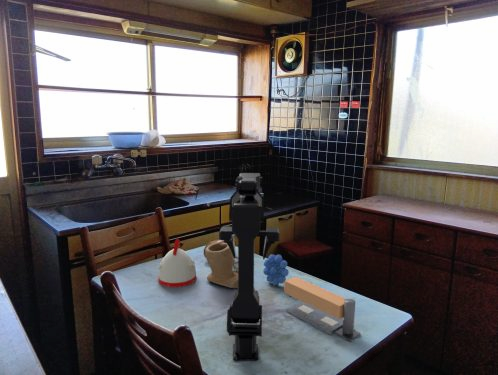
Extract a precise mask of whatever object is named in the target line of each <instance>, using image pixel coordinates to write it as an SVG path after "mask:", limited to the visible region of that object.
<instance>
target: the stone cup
mask: <svg viewBox="0 0 498 375" xmlns="http://www.w3.org/2000/svg"><path fill="white" fill-rule="evenodd" d="M205 256H206V258H205V259H206V262H207V263H208V266H209V268H210V270H211V271H210V272H211V273H209V274H208V275H207V276H206V279H207V281H209V282H211V283H214V284H217V285H220V286H224V287H226V288H230V289H238V273H234V272H233V270H234V269H233V268H234V267H233V261H234V257H233V254H232V252H231V250H230V248H229V246H228V244H227V243H222V242H217V243H213V244H211V245H209V246H208V247H207V248H206V249H205ZM205 256H204V257H205Z"/></svg>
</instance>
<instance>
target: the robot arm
mask: <svg viewBox="0 0 498 375" xmlns="http://www.w3.org/2000/svg"><path fill="white" fill-rule="evenodd" d="M235 189H236V190H235V192H234V193H232V195H231V196H230V197H229V210H228V221H229V223H231V226H225V225H223V226H222V227H221V228H220V230H219V238H218V240H223V241H224V243H227V244H228V246H229V248H230V250H231V252H232V254H233V257H234V259H236V258H237V259H238V288H237V290H235V292H234V294H233V298H232V304H230V306H229V307H228V309H226V310H227V311H226V312H227V315H226V332H227V333H228V336H230V337H231V336H234V343H233V345H232V360H233V361H259V347H258V346H259V345H258V342H257V339H258V337H263V334H262V333H263V305H262V304H260V295H259V292H258V290H256V289H255V239H256V238H259V237H260V238H261V237H262V238H265V239H264V244H263V245H264V246H263V252H262V260H263V261H265V260H266V257H267V254H268V252H269V250H270V248H271V246H272V245H274V244H276V242H280V229H279V228H278V227H272V226H271V227H269V226H268V227H267V226H266V230H261V223H264V212H265V211H264V209H265V208H264V201H265V199H264V196H263V195H262V193H263V176H261V173H259V172H255V173H254V172H240V173H239V176H237V177H236V179H235ZM239 200H240V202H238V201H239ZM235 237H236V239H237V243H238V244H237V246H238V247H237V248H238V249H237V251H238V252H236V243H235ZM237 256H238V257H237Z"/></svg>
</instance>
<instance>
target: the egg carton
mask: <svg viewBox="0 0 498 375" xmlns="http://www.w3.org/2000/svg"><path fill="white" fill-rule="evenodd" d="M233 272H234V273H238V257H236V259H234V261H233Z"/></svg>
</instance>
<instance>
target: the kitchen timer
mask: <svg viewBox="0 0 498 375" xmlns="http://www.w3.org/2000/svg"><path fill="white" fill-rule="evenodd" d="M174 240H175V241H174V245H173V249H171V250H169V251H168V252H167V253H166V254H165V256H164V257H163V258H162V259H161V260H160V263H159V268H158V278H157V279H158V284H160V285H162V286H164V287H168V288H180V287H185V286H189V285H191V284H192V283H194V282H195V281H196V280H197V271H196V265H195V259H192V258H191V256H190V255H189V253H188V252H186V251H185V250H183V249H182V248H180V246H181V244H180V243H181V241H180V239H179V238H176V239H174Z"/></svg>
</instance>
